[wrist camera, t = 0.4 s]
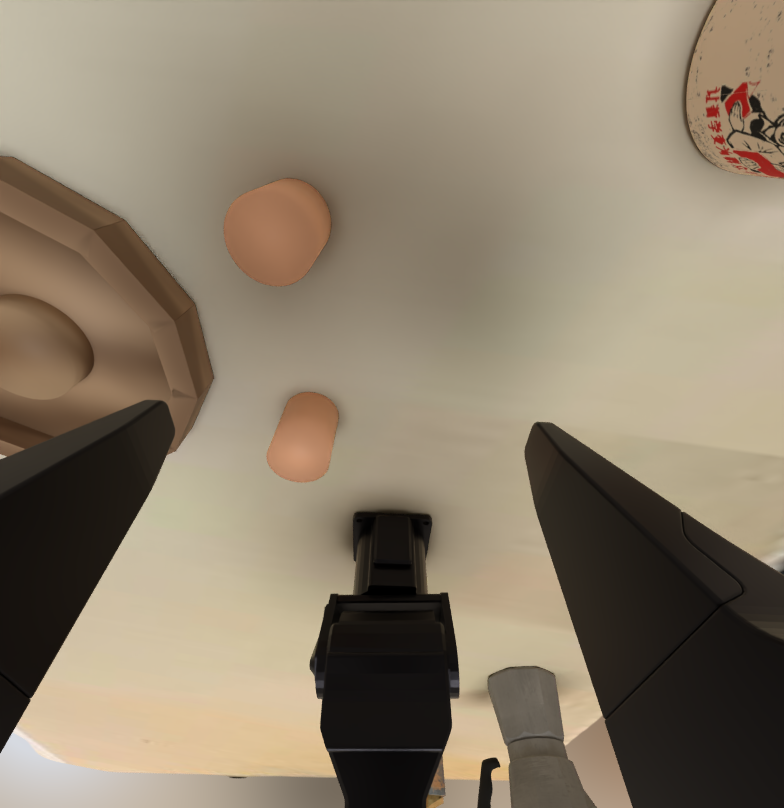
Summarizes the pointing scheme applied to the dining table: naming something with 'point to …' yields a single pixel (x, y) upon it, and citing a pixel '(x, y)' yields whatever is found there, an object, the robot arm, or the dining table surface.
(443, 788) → the grey spool block
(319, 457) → the bead
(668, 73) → the dining table surface
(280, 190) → the bead
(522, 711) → the coffeepot
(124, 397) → the groove tray
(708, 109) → the white lidded jar
